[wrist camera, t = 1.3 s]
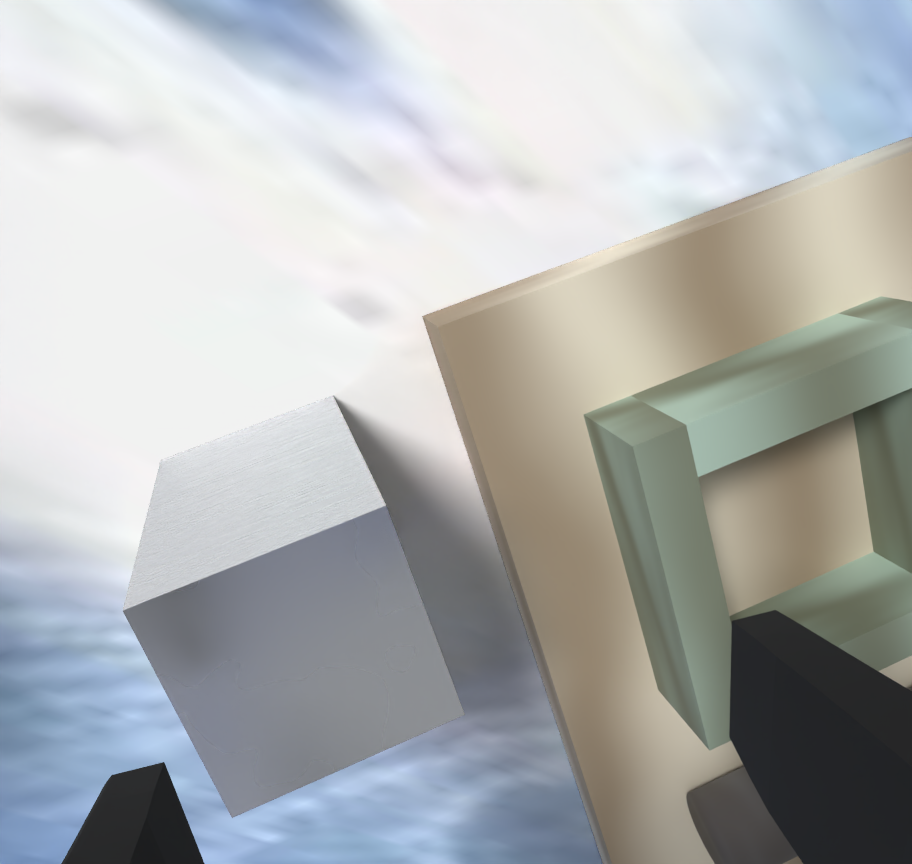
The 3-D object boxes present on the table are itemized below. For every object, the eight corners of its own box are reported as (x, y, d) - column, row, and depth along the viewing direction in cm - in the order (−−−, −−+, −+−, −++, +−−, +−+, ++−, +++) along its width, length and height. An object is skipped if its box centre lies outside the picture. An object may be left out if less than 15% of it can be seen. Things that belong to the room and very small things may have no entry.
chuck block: (624, 928, 26) (690, 1053, 22) (422, 316, 19) (469, 348, 15) (977, 752, 28) (1093, 840, 24) (909, 137, 21) (1057, 126, 17)
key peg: (231, 609, 20) (231, 818, 13) (160, 459, 18) (122, 610, 12) (390, 545, 20) (465, 714, 14) (332, 395, 19) (386, 505, 12)
